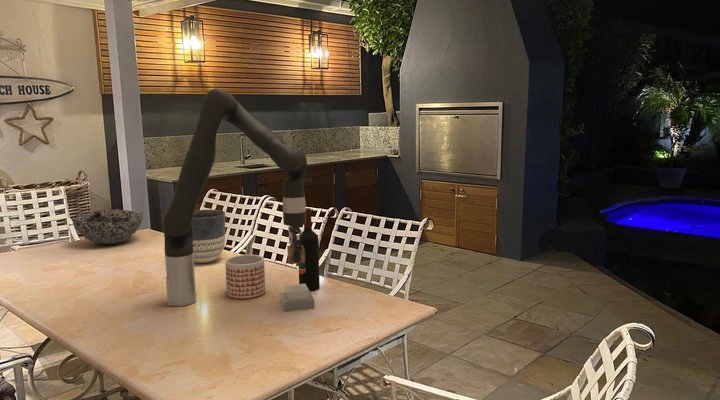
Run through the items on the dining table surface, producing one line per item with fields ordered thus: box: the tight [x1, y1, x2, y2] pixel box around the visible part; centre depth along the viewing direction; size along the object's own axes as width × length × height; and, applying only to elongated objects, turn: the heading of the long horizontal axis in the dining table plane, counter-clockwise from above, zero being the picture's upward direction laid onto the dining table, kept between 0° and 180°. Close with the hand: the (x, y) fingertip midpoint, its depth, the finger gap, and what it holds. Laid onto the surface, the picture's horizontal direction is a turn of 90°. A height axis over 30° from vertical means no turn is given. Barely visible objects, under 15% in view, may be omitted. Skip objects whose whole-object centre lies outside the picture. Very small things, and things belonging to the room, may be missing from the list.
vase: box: [224, 254, 266, 300], centre depth 197 cm, size 14×14×13 cm
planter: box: [192, 209, 226, 264], centre depth 238 cm, size 20×20×21 cm
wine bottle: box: [297, 207, 320, 292], centre depth 200 cm, size 8×8×30 cm
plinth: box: [280, 283, 315, 312], centre depth 185 cm, size 10×10×6 cm
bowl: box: [72, 208, 144, 246], centre depth 273 cm, size 31×31×15 cm
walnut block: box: [286, 245, 305, 265], centre depth 183 cm, size 5×5×5 cm
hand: (295, 259), depth 183 cm, fingers closed on walnut block, 5 cm apart
